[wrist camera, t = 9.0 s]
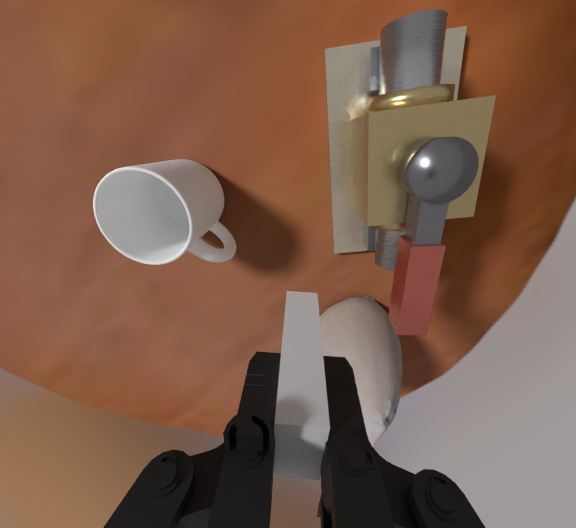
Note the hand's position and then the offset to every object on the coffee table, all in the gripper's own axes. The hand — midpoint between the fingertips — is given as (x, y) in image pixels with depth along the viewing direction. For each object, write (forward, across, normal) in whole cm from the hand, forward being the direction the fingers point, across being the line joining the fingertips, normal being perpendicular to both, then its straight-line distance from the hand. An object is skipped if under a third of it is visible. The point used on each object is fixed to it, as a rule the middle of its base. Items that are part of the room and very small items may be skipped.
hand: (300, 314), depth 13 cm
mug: (+20, -12, 0) cm, 23 cm away
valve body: (+20, +9, +6) cm, 22 cm away
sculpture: (+19, +8, -17) cm, 27 cm away
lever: (+9, +9, +1) cm, 13 cm away
